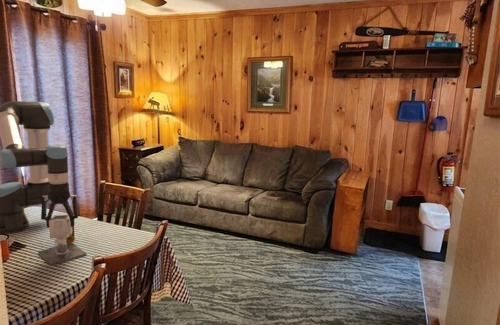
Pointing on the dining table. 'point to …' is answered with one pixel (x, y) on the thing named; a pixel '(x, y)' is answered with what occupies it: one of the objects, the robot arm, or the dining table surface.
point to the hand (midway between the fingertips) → (61, 234)
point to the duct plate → (61, 258)
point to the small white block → (59, 226)
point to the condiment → (69, 238)
